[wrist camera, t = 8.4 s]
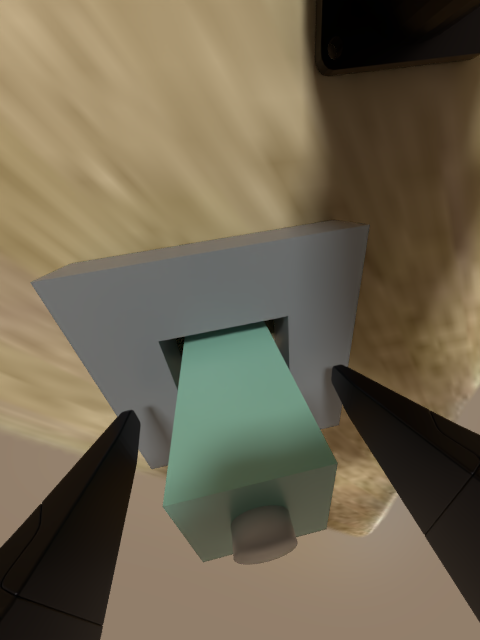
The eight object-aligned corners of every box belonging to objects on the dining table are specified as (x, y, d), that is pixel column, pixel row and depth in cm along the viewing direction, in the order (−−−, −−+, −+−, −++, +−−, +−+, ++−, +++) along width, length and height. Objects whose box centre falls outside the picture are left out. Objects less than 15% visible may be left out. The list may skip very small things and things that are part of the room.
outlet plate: (333, 219, 10) (369, 224, 8) (320, 395, 16) (338, 425, 14) (70, 263, 9) (30, 282, 7) (158, 431, 15) (151, 469, 13)
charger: (258, 310, 12) (353, 494, 4) (264, 365, 14) (336, 555, 6) (186, 324, 12) (158, 544, 4) (202, 378, 14) (203, 593, 6)
